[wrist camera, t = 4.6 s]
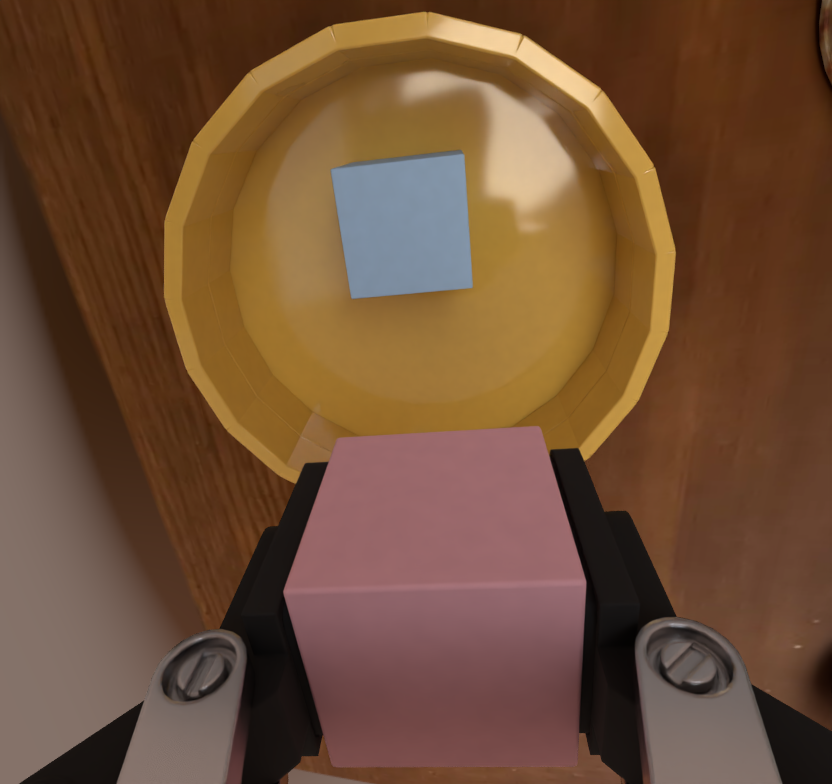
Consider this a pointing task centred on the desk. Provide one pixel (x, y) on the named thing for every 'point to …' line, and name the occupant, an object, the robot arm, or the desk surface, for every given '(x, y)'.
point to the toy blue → (404, 224)
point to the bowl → (430, 311)
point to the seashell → (826, 36)
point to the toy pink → (441, 603)
